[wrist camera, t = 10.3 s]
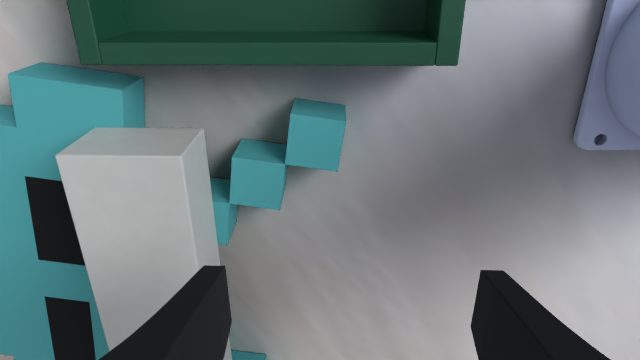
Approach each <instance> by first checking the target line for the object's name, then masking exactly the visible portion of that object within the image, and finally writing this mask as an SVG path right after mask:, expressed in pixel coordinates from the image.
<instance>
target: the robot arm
mask: <svg viewBox="0 0 640 360" xmlns="http://www.w3.org/2000/svg"><path fill="white" fill-rule="evenodd" d="M599 134H602V138H601V140H599V141H598V142H594V139H595V138H596V136H598V135H599ZM573 141H574V143H575V145H577V146H578V147H579V148H581V149H584V150H640V0H607V4H606V8H605V12H604V16H603V20H602V24H601V28H600V32H599V36H598V40H597V44H596V48H595V52H594V56H593V60H592V64H591V68H590V72H589V76H588V80H587V84H586V88H585V92H584V96H583V100H582V104H581V109H580V113H579V117H578V121H577V125H576V129H575V133H574V137H573ZM230 327H231V312H230V304H229V295H228V287H227V278H226V269H225V266H209V265H204V266H203V267H202V268H201V269H200V270H199V271H198V272H197V273H196V274H195V275H194V276H193V277H192V278H191V279H190V280H189V281H188V282H187V283H186V284H185V285H184V286H183V287H182V288H181V289H180V290H179V291H178V292H177V293H176V294H175V295H174V296H173V297H172V298H171V299H170V300H169V301H168V302H167V303H166V304H165V305H164V306H163V307H161V308H160V309H159V310H158V311H157V312H156V313H155V314H154V315H153V316H152V317H151V318H150V319H149V320H147V321H146V322H145V323H144V324H143V325H142V326H141V327H139V328H138V329H137V330H136V331H135V332H134V333H133V334H131V335H130V336H129V337H128V338H126V339H125V340H124V341H123V342H121V343H120V344H119V345H118V346H116V347H115V348H113V349H112V350H111V351H109V352H108V353H107V354H105V355H104V356H103V357H101V358H100V359H98V360H223V359H224V355H225V351H226V347H227V342H228V337H229V332H230ZM471 330H472V334H473V338H474V343H475V347H476V351H477V355H478V359H479V360H610V359H609V358H607V357H606V356H605V355H603V354H602V353H600V352H599V351H598V350H596V349H595V348H594V347H592V346H591V345H590V344H588V343H587V342H586V341H585V340H583V339H582V338H581V337H579V336H578V335H577V334H576V333H574V332H573V331H572V330H571V329H569V328H568V327H567V326H566V325H564V324H563V323H562V322H561V321H560V320H558V319H557V318H556V317H555V316H554V315H553V314H551V313H550V312H549V311H548V310H547V309H546V308H544V307H543V306H542V305H541V304H540V303H539V302H538V301H537V300H535V299H534V298H533V297H532V296H531V295H530V294H529V293H528V292H527V291H526V290H524V289H523V288H522V287H521V286H520V285H519V284H518V283H517V282H516V281H514V280H513V279H512V278H511V277H510V276H509V275H508V274H507V273H505V272H504V271H497V270H481V272H480V278H479V284H478V289H477V295H476V300H475V306H474V311H473V317H472V322H471Z"/></svg>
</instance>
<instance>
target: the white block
mask: <svg viewBox="0 0 640 360" xmlns="http://www.w3.org/2000/svg"><path fill="white" fill-rule="evenodd" d="M55 158H56V161H57V165H58V168H59V172H60V176H61V179H62V183H63V186H64V190H65V194H66V197H67V201H68V204H69V208H70V211H71V215H72V219H73V222H74V226H75V229H76V233H77V237H78V240H79V244H80V247H81V251H82V255H83V258H84V262H85V265H86V269H87V273H88V276H89V280H90V283H91V287H92V290H93V294H94V298H95V301H96V305H97V308H98V312H99V316H100V319H101V323H102V326H103V330H104V334H105V337H106V341H107V344H108V348H109V351H111V350H112V349H113V348H115V347H116V346H118V345H119V344H120V343H121V342H123V341H124V340H125V339H126V338H128V337H129V336H130V335H131V334H133V333H134V332H135V331H136V330H137V329H138V328H139V327H141V326H142V325H143V324H144V323H145V322H146V321H147V320H149V319H150V318H151V317H152V316H153V315H154V314H155V313H156V312H157V311H158V310H159V309H160V308H161V307H163V306H164V305H165V304H166V303H167V302H168V301H169V300H170V299H171V298H172V297H173V296H174V295H175V294H176V293H177V292H178V291H179V290H180V289H181V288H182V287H183V286H184V285H185V284H186V283H187V282H188V281H189V280H190V279H191V278H192V277H193V276H194V275H195V274H196V273H197V272H198V271H199V270H200V269H201V268H202V267H203V266H204V265H209V266H220V257H219V249H218V241H217V233H216V225H215V216H214V208H213V200H212V192H211V184H210V175H209V167H208V159H207V151H206V143H205V135H204V129H203V128H113V127H95V128H94V129H92V130H91V131H89V132H88V133H87V134H85V135H84V136H82V137H81V138H79V139H78V140H77V141H75V142H74V143H72V144H71V145H69V146H68V147H67V148H65V149H64V150H62V151H61V152H59V153H58V154H57V155H56V156H55ZM223 360H232V356H231V347H230V339H229V337H228V342H227V347H226V351H225V355H224V359H223Z"/></svg>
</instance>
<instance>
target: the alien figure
mask: <svg viewBox="0 0 640 360" xmlns="http://www.w3.org/2000/svg"><path fill="white" fill-rule="evenodd" d="M8 78H9V84H10V90H11V96H12V102H13V107H12V106H5V105H0V354H5V355H13V356H14V360H98V359H100V358H101V357H103V356H104V355H105V354H107V353H108V352H109V348H108V344H107V341H106V337H105V334H104V330H103V326H102V323H101V319H100V316H99V312H98V308H97V305H96V301H95V298H94V294H93V290H92V287H91V283H90V280H89V276H88V273H87V269H86V265H85V262H84V258H83V255H82V251H81V247H80V244H79V240H78V237H77V233H76V229H75V226H74V222H73V219H72V215H71V211H70V208H69V204H68V201H67V197H66V194H65V190H64V186H63V183H62V179H61V176H60V172H59V168H58V165H57V161H56V158H55V156H56V155H57V154H58V153H59V152H61V151H62V150H64V149H65V148H67V147H68V146H69V145H71V144H72V143H74V142H75V141H77V140H78V139H79V138H81V137H82V136H84V135H85V134H87V133H88V132H89V131H91V130H92V129H94V128H95V127H113V128H145V104H144V77H141V76H134V75H127V74H119V73H112V72H105V71H98V70H91V69H84V68H77V67H70V66H63V65H56V64H48V63H38V64H35V65H32V66H29V67H27V68H24V69H21V70H18V71H15V72H12V73H10V74H8ZM345 124H346V112H345V105H339V104H332V103H325V102H318V101H311V100H304V99H297V98H295V101H294V104H293V107H292V110H291V114H290V123H289V132H288V141H287V144H280V143H272V142H265V141H258V140H251V139H243V138H242V139H241V141H240V143H239V145H238V147H237V149H236V150H235V152H234V154H233V156H232V164H231V180H226V179H219V178H211V177H210V184H211V192H212V200H213V208H214V216H215V225H216V233H217V241H218V244H219V245H226V246H227V245H228V242H229V239H230V237H231V234H232V232H233V229H234V226H235V224H236V221H237V209H238V205H244V206H252V207H259V208H266V209H274V210H280V207H281V203H282V199H283V194H284V190H285V184H286V175H287V166H288V165H293V166H300V167H307V168H315V169H322V170H329V171H336V172H338V166H339V160H340V154H341V148H342V142H343V136H344V130H345ZM229 335H230V332H229ZM231 356H232V360H266V354H258V353H250V352H242V351H234V350H231Z"/></svg>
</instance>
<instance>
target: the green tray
mask: <svg viewBox="0 0 640 360" xmlns="http://www.w3.org/2000/svg"><path fill="white" fill-rule="evenodd" d="M465 1H466V0H67V5H68V9H69V13H70V18H71V22H72V26H73V31H74V35H75V40H76V44H77V48H78V53H79V57H80V61H81V64H83V65H101V64H103V65H406V66H433V65H436V66H456V65H457V64H458V57H459V49H460V41H461V33H462V25H463V17H464V9H465Z"/></svg>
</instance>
